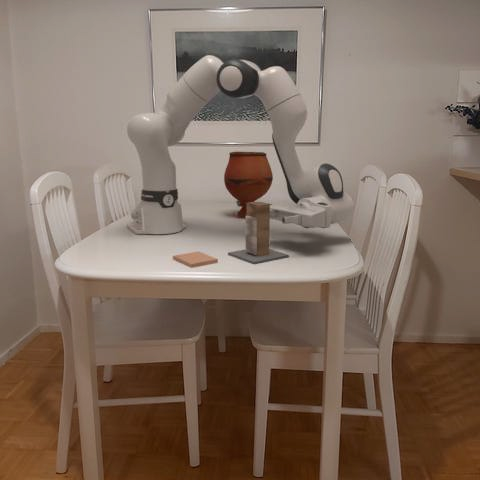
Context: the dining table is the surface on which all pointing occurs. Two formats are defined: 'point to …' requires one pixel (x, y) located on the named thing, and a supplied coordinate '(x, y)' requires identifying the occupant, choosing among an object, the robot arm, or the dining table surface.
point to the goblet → (247, 177)
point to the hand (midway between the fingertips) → (272, 217)
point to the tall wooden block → (257, 228)
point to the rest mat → (254, 259)
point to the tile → (195, 259)
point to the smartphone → (238, 203)
